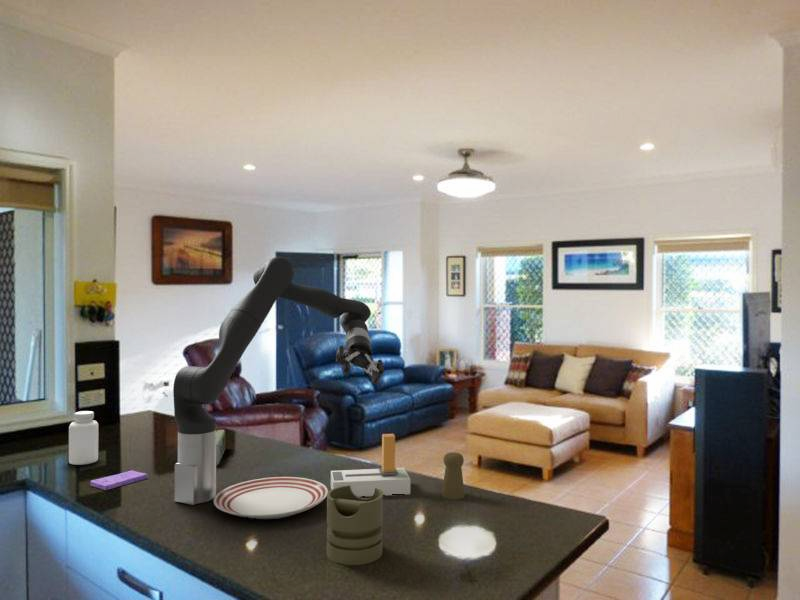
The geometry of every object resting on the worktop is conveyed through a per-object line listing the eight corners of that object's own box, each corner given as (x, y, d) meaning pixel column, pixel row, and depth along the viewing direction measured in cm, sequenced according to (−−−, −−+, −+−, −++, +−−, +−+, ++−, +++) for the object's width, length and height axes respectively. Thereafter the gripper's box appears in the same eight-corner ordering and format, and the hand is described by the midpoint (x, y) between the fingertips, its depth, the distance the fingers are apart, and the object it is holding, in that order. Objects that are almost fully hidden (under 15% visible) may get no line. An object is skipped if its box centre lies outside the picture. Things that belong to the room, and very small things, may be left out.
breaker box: (333, 498, 157) (333, 482, 157) (330, 485, 167) (330, 470, 167) (410, 494, 160) (410, 478, 160) (403, 482, 170) (403, 467, 170)
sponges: (90, 487, 165) (89, 480, 165) (132, 475, 175) (132, 469, 175) (105, 492, 161) (105, 485, 161) (147, 480, 171) (147, 473, 171)
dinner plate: (212, 533, 134) (212, 518, 134) (214, 492, 161) (214, 480, 161) (337, 521, 142) (337, 507, 142) (319, 484, 168) (319, 472, 168)
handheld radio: (226, 449, 203) (217, 472, 178) (216, 450, 202) (205, 473, 178) (226, 429, 203) (216, 449, 178) (215, 430, 202) (204, 450, 178)
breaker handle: (381, 475, 162) (381, 437, 161) (378, 470, 166) (379, 433, 166) (397, 474, 162) (398, 436, 162) (394, 469, 167) (395, 433, 167)
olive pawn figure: (463, 500, 156) (464, 457, 156) (440, 498, 157) (440, 455, 157) (465, 492, 162) (466, 451, 162) (443, 490, 163) (443, 449, 163)
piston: (339, 482, 132) (389, 487, 129) (338, 538, 132) (389, 544, 129) (318, 500, 121) (372, 506, 118) (317, 560, 121) (372, 568, 118)
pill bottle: (103, 458, 190) (103, 410, 190) (88, 466, 182) (88, 415, 182) (79, 457, 191) (79, 409, 190) (62, 465, 183) (62, 414, 182)
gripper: (342, 327, 182) (343, 358, 168) (384, 343, 187) (390, 375, 173) (331, 346, 185) (332, 379, 171) (373, 362, 190) (378, 394, 176)
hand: (361, 377), depth 172 cm, fingers open, 8 cm apart
